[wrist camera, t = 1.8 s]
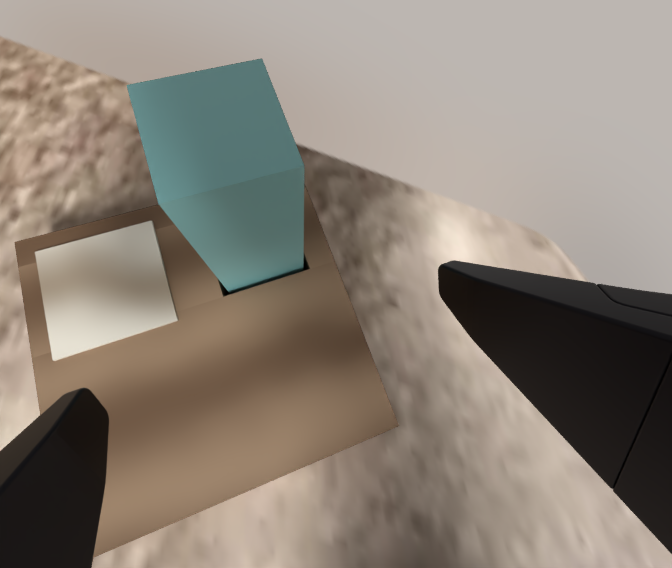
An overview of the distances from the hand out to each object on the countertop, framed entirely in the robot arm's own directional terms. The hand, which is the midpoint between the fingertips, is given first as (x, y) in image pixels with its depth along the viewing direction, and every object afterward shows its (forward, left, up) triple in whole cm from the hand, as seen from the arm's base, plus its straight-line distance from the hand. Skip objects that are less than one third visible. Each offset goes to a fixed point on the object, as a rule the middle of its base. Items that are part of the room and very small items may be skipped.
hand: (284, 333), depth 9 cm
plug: (+6, -3, -13) cm, 15 cm away
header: (+4, +2, -13) cm, 14 cm away
